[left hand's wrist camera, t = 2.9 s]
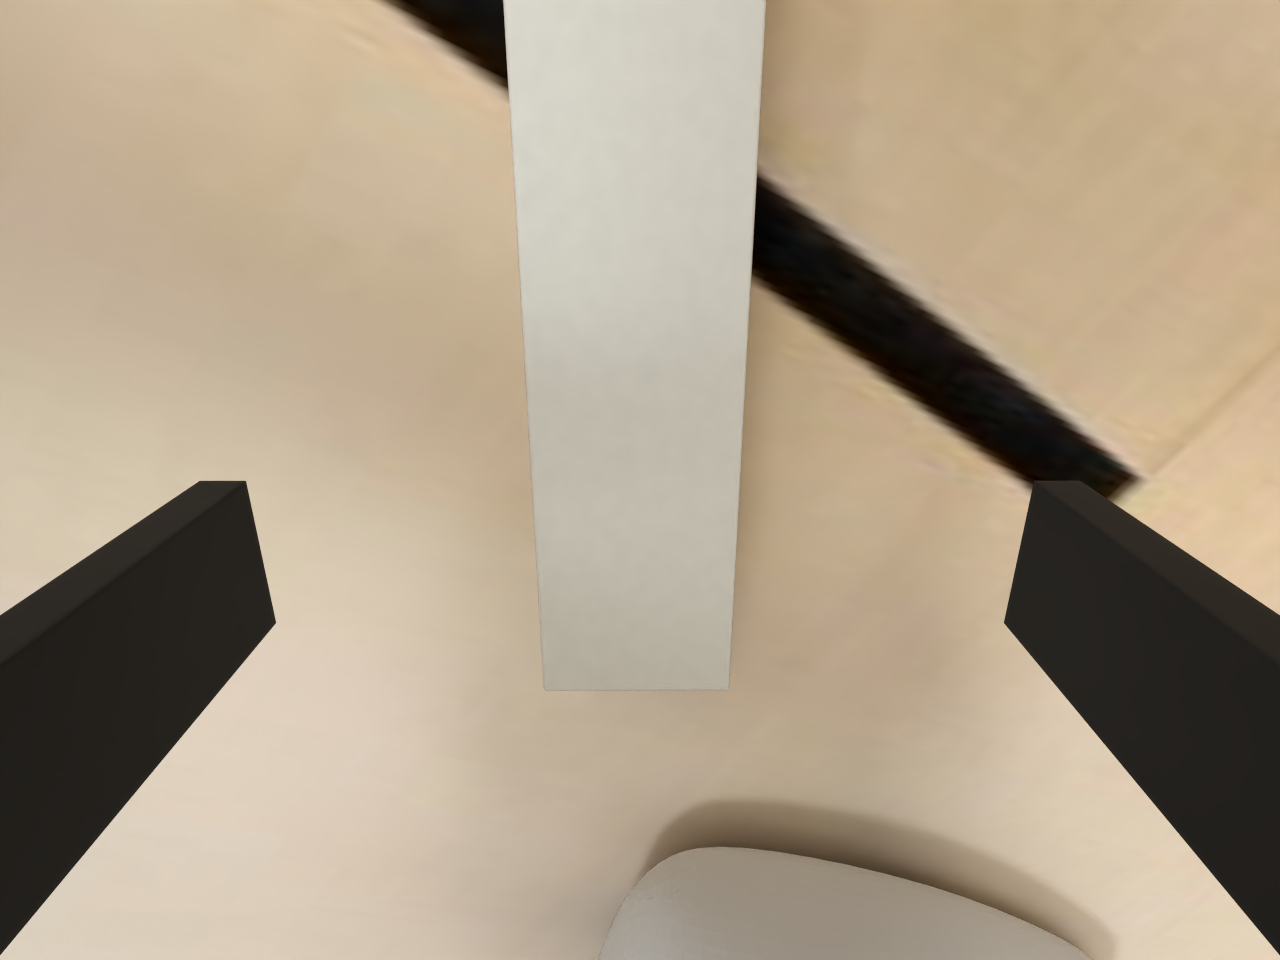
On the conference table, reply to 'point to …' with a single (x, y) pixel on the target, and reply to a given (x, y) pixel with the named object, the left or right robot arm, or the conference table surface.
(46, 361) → the conference table surface
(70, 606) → the left robot arm
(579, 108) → the bar
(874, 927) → the projector
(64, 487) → the conference table surface
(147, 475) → the conference table surface
